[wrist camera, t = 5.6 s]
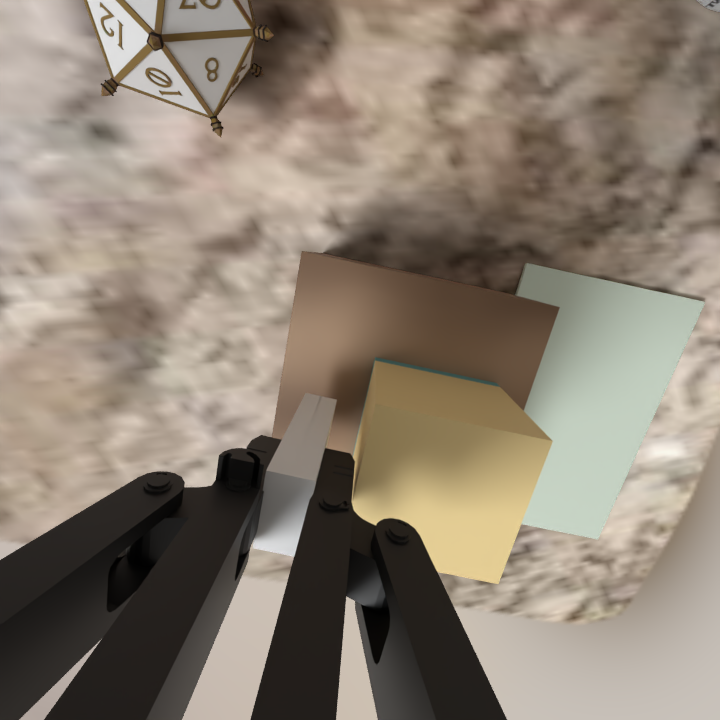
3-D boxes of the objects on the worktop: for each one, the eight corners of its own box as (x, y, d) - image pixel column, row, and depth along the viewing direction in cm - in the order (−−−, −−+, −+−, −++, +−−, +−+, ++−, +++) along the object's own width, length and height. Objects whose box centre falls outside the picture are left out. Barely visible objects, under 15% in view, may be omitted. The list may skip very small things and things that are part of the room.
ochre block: (374, 357, 18) (375, 403, 12) (496, 383, 18) (553, 441, 12) (350, 465, 20) (340, 552, 14) (462, 488, 20) (498, 583, 14)
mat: (525, 262, 23) (527, 263, 23) (701, 301, 24) (705, 302, 23) (448, 506, 28) (448, 509, 28) (595, 536, 28) (597, 539, 28)
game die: (243, 54, 24) (273, -174, 15) (270, 175, 23) (319, 6, 14) (74, 23, 20) (-18, -306, 11) (97, 166, 19) (18, -73, 10)
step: (322, 252, 24) (301, 251, 17) (507, 293, 24) (559, 307, 17) (287, 449, 27) (259, 512, 21) (448, 482, 28) (473, 554, 21)
